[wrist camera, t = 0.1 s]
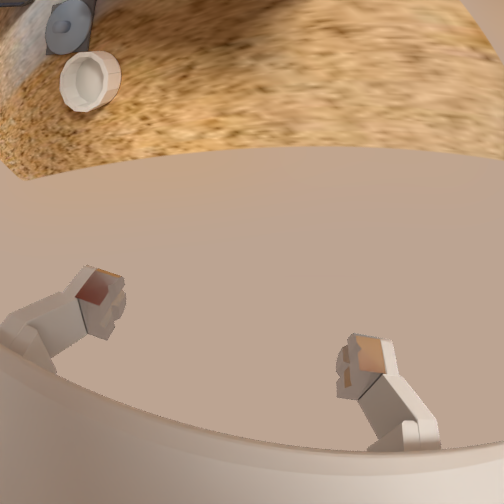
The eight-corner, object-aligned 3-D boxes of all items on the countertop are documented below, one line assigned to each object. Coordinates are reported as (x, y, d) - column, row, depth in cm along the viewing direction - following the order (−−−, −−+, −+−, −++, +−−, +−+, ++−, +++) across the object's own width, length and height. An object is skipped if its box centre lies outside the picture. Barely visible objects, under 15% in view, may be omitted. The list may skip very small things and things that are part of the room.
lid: (52, 4, 38) (40, 4, 35) (96, -4, 38) (85, -6, 35) (45, 56, 45) (33, 58, 42) (87, 52, 45) (76, 53, 42)
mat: (54, 5, 39) (52, 5, 38) (96, -3, 39) (94, -3, 38) (47, 54, 46) (46, 54, 45) (88, 51, 46) (86, 51, 45)
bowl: (77, 51, 46) (62, 53, 42) (124, 50, 46) (111, 51, 42) (73, 105, 53) (58, 110, 49) (118, 108, 53) (105, 113, 49)
